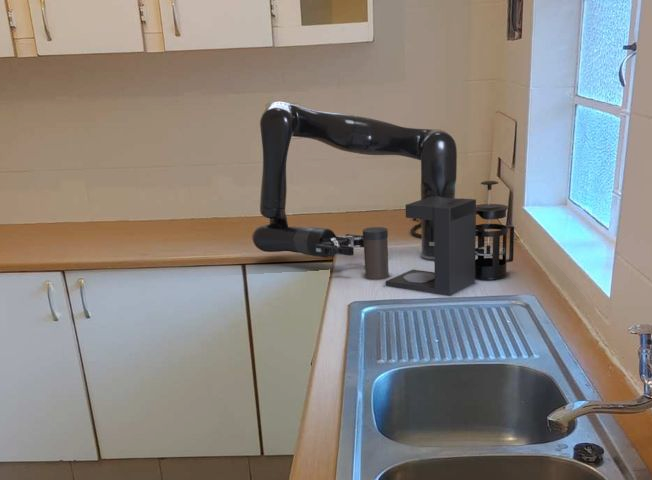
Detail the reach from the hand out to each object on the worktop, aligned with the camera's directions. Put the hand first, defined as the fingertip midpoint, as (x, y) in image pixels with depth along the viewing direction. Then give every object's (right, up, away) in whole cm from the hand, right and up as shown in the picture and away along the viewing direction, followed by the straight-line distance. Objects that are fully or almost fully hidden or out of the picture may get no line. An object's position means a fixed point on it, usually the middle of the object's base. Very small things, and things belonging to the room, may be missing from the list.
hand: (363, 247), depth 192 cm
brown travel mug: (+4, -7, 0) cm, 8 cm away
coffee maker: (+16, -11, -9) cm, 21 cm away
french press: (+32, -8, -5) cm, 33 cm away
